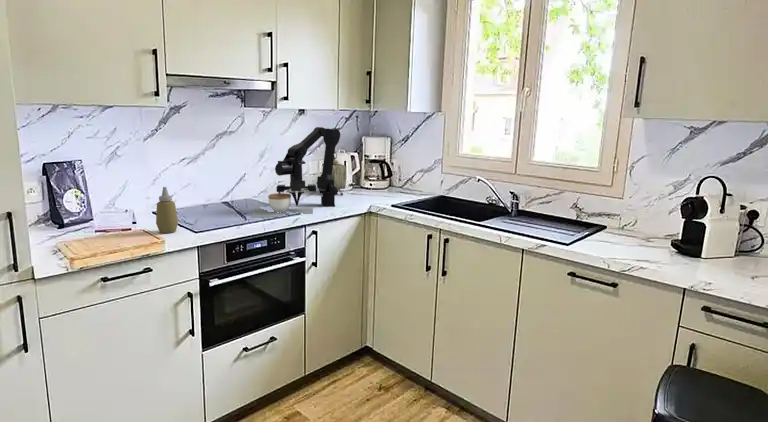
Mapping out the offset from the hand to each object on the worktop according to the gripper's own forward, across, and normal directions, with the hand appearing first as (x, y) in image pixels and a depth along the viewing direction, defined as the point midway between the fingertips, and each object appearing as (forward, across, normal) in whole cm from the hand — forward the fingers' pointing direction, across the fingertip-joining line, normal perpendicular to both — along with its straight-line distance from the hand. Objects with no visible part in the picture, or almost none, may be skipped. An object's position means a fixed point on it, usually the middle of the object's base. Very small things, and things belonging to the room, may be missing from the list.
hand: (296, 205), depth 241 cm
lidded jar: (+3, -8, 0) cm, 9 cm away
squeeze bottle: (+3, -50, -38) cm, 63 cm away
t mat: (+3, -6, 0) cm, 7 cm away
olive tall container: (+3, +20, +48) cm, 52 cm away
